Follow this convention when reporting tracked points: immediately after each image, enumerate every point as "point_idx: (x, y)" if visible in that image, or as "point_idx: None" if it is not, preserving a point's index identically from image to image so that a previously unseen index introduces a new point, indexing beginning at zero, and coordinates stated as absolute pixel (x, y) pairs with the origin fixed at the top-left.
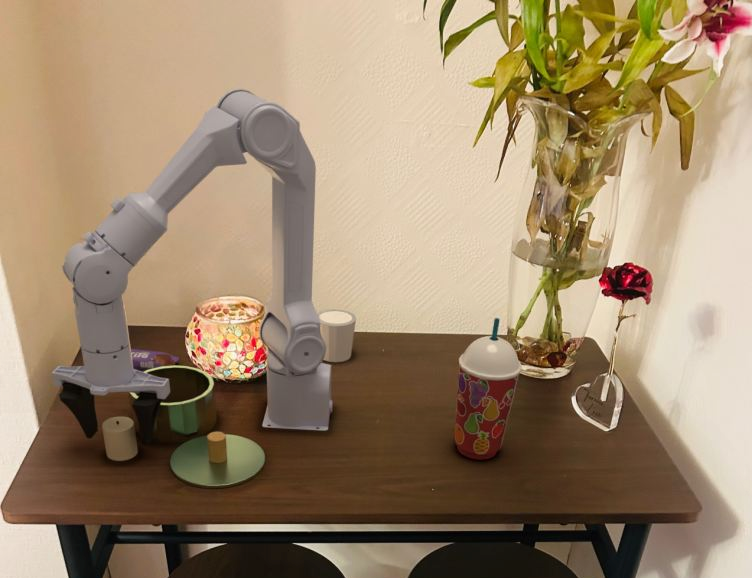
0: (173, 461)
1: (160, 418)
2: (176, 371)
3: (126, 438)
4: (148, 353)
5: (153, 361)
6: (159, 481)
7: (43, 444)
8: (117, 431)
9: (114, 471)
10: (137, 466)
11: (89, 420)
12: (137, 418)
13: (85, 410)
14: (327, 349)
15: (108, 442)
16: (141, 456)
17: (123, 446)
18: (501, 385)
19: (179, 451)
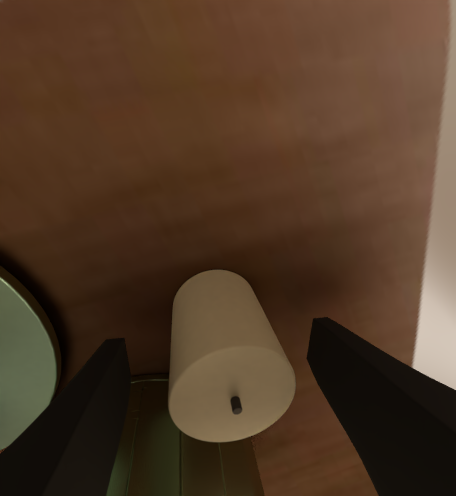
0: (17, 310)
1: (112, 473)
2: None
3: (181, 343)
4: None
5: None
6: (35, 219)
7: (414, 294)
8: (211, 357)
9: (205, 235)
10: (151, 274)
11: (350, 380)
12: (43, 483)
13: (399, 426)
14: None
15: (246, 310)
16: (165, 318)
17: (191, 312)
18: None
19: (36, 360)
